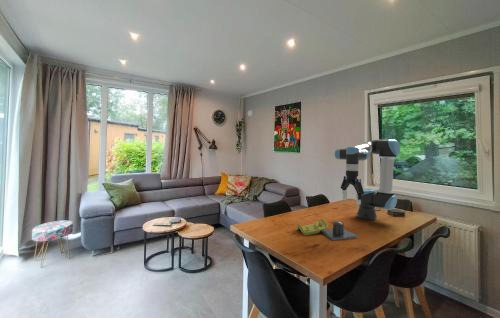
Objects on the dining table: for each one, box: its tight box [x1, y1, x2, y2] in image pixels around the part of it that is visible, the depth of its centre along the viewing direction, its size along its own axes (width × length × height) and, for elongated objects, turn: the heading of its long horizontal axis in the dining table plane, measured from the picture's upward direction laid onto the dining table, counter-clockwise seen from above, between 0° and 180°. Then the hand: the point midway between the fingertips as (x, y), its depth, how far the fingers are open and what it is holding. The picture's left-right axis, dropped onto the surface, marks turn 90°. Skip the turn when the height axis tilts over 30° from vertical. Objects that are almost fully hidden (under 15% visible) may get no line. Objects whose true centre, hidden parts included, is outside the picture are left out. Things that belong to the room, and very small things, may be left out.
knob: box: [332, 220, 345, 235], centre depth 150 cm, size 7×7×7 cm
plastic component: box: [296, 218, 329, 236], centre depth 156 cm, size 20×7×10 cm
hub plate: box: [319, 228, 358, 242], centre depth 149 cm, size 18×15×6 cm
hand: (351, 202), depth 151 cm, fingers open, 13 cm apart
